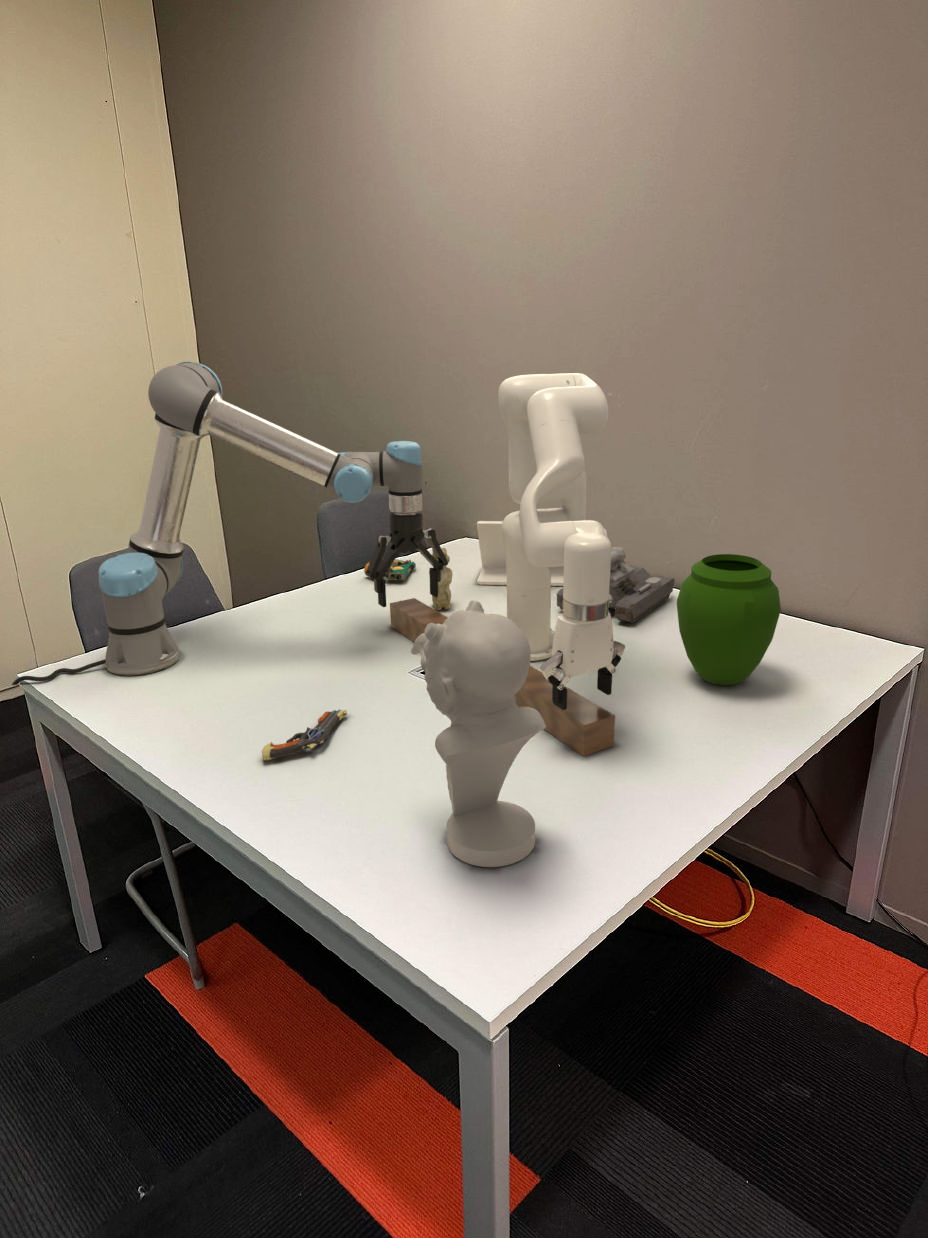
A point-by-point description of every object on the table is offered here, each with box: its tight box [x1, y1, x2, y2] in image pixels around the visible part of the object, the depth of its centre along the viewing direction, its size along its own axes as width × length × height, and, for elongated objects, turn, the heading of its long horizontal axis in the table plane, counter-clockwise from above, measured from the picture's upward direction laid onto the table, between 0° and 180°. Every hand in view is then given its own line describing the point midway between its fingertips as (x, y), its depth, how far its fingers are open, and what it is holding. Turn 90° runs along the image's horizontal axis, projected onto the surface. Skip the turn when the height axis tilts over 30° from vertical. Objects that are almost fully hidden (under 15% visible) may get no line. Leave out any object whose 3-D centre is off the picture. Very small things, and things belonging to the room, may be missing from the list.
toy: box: [556, 546, 676, 624], centre depth 212 cm, size 25×20×15 cm
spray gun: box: [363, 558, 417, 582], centre depth 242 cm, size 4×17×15 cm
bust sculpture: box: [410, 599, 546, 868], centre depth 121 cm, size 16×24×35 cm
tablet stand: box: [476, 520, 564, 587], centre depth 236 cm, size 18×25×17 cm
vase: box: [676, 553, 782, 686], centre depth 168 cm, size 20×20×24 cm
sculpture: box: [428, 547, 453, 611], centre depth 214 cm, size 6×7×15 cm
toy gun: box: [261, 708, 348, 761], centre depth 153 cm, size 3×19×10 cm
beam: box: [389, 597, 616, 757], centre depth 175 cm, size 74×7×6 cm, turn 31°
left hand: (408, 600), depth 200 cm, fingers open, 13 cm apart
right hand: (582, 699), depth 148 cm, fingers open, 9 cm apart
